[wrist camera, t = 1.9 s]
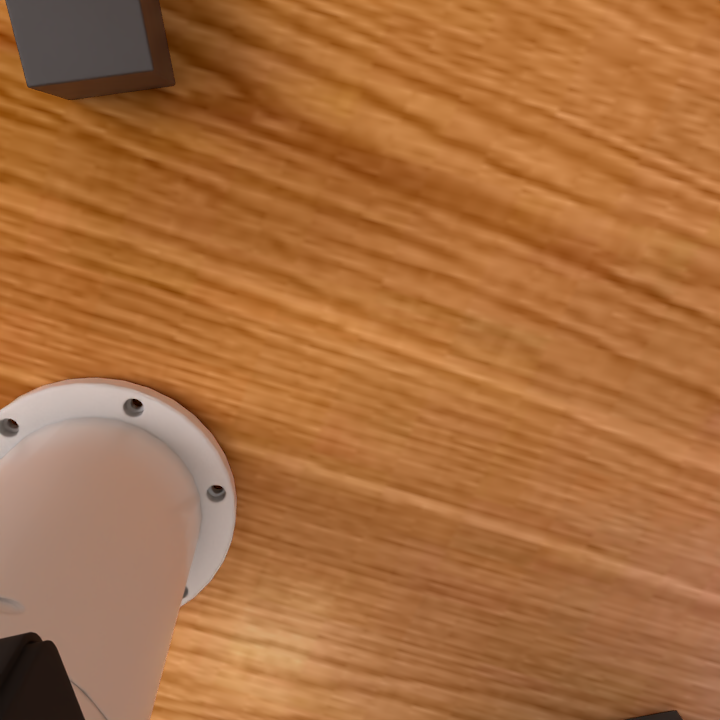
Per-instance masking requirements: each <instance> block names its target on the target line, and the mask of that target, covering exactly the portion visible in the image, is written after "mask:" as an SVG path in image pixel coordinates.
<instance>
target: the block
mask: <svg viewBox="0 0 720 720" xmlns="http://www.w3.org/2000/svg"><path fill="white" fill-rule="evenodd" d="M5 1H6V5H7V9H8V12H9V16H10V20H11V24H12V28H13V32H14V36H15V40H16V44H17V48H18V51H19V55H20V59H21V63H22V67H23V71H24V75H25V79H26V83H27V86H28V87H29V88H32V89H35V90H39V91H42V92H45V93H48V94H52V95H55V96H58V97H61V98H65V99H68V100H73V99H80V98H88V97H95V96H102V95H110V94H117V93H125V92H132V91H139V90H147V89H154V88H161V87H169V86H174V85H175V79H174V74H173V69H172V64H171V59H170V54H169V49H168V44H167V39H166V34H165V29H164V24H163V19H162V14H161V9H160V4H159V0H5Z"/></svg>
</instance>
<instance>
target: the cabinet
mask: <svg viewBox="0 0 720 720" xmlns="http://www.w3.org/2000/svg"><path fill="white" fill-rule="evenodd" d="M627 720H683V719H682V718H681V716H680V715H679V714H678V712H677V711H676V710H675V711H670V712H665V713H659V714H654V715H648V716H643V717H638V718H632V719H627Z"/></svg>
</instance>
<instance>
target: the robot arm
mask: <svg viewBox="0 0 720 720" xmlns="http://www.w3.org/2000/svg"><path fill="white" fill-rule="evenodd" d="M133 399H137V400H139V401H140V402H141V403H142V406H136V405H134V403H133ZM11 419H12V420H14V421H16V423H17V424H18V425H15V424H13V423H12V421H11ZM213 485H219V486H221V487H223V488H222V489H215V488H214V487H213ZM236 508H237V496H236V490H235V483H234V477H233V474H232V471H231V469H230V466H229V463H228V461H227V458H226V456H225V454H224V452H223V450H222V449H221V447H220V446H219V444H218V442H217V441H216V439H215V438H214V436H213V434H212V433H211V432H210V431H209V430H208V429H207V428H206V427H205V426H204V425H203V424H202V423H201V422H200V420H199V419H198V418H197V417H196V416H195V415H193V414H192V413H191V412H189V411H188V410H187V409H185V408H184V407H183V406H181V405H180V404H179V403H177V402H176V401H175V400H173V399H171V398H169V397H167V396H165V395H163V394H161V393H159V392H157V391H155V390H153V389H151V388H148V387H144V386H141V385H137V384H134V383H131V382H127V381H124V380H115V379H106V378H97V377H94V378H78V379H67V380H63V381H59V382H55V383H51V384H47V385H43V386H41V387H39V388H37V389H35V390H32V391H30V392H28V393H26V394H24V395H22V396H19V397H18V398H17V399H15V400H14V401H12V402H11V403H10V404H8V405H7V406H5V407H4V408H3V409H1V410H0V720H150V717H151V713H152V710H153V706H154V702H155V698H156V695H157V691H158V687H159V684H160V680H161V676H162V672H163V669H164V665H165V661H166V657H167V654H168V650H169V646H170V643H171V639H172V635H173V631H174V628H175V624H176V620H177V617H178V613H179V609H180V607H181V606H183V605H184V604H185V603H187V602H188V601H190V600H191V599H193V598H194V597H195V596H196V595H197V594H198V593H199V592H200V591H201V590H202V589H203V588H204V587H205V586H206V585H207V584H208V583H209V582H210V581H211V580H212V579H213V577H214V575H215V574H216V572H217V571H218V569H219V568H220V566H221V565H222V563H223V562H224V559H225V557H226V554H227V552H228V549H229V547H230V544H231V542H232V537H233V533H234V528H235V523H236Z"/></svg>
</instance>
